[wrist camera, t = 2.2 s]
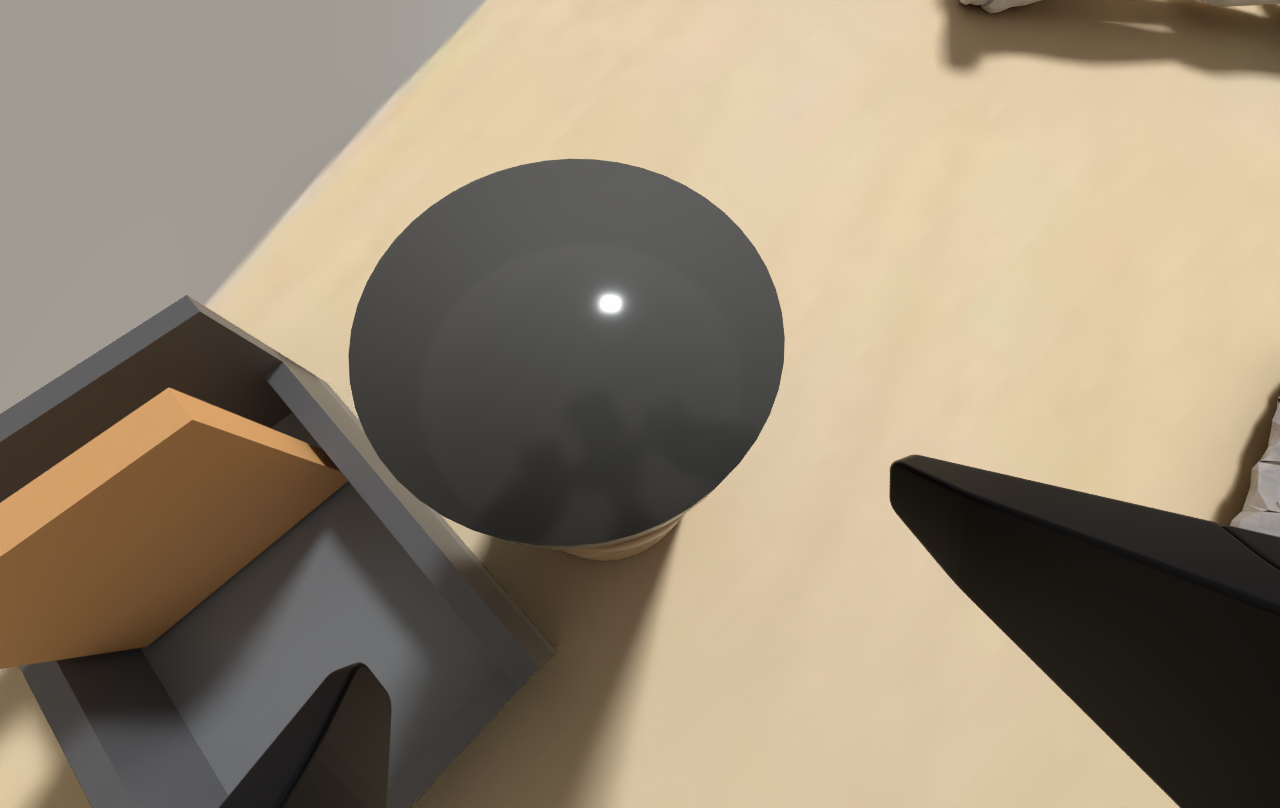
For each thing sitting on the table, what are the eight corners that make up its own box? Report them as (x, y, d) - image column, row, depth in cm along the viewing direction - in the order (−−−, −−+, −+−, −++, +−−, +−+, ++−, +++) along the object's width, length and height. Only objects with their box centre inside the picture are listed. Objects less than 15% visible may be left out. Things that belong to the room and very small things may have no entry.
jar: (711, 544, 18) (843, 495, 7) (528, 580, 18) (341, 590, 6) (673, 378, 21) (725, 138, 9) (511, 405, 20) (353, 185, 9)
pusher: (354, 476, 18) (192, 419, 11) (147, 646, 16) (-199, 698, 9) (336, 454, 18) (168, 387, 12) (130, 619, 16) (-216, 651, 10)
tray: (556, 650, 17) (510, 696, 11) (298, 927, 14) (26, 1215, 8) (326, 382, 20) (186, 295, 14) (82, 564, 18) (-228, 559, 11)
